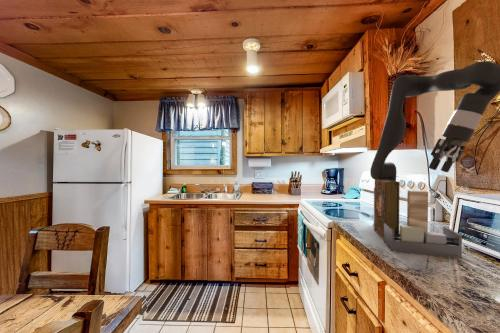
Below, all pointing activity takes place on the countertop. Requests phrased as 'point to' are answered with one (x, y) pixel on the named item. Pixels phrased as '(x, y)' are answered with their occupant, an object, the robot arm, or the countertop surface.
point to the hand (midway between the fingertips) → (438, 170)
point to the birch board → (417, 209)
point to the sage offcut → (411, 234)
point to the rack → (425, 244)
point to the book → (386, 205)
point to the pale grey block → (434, 238)
